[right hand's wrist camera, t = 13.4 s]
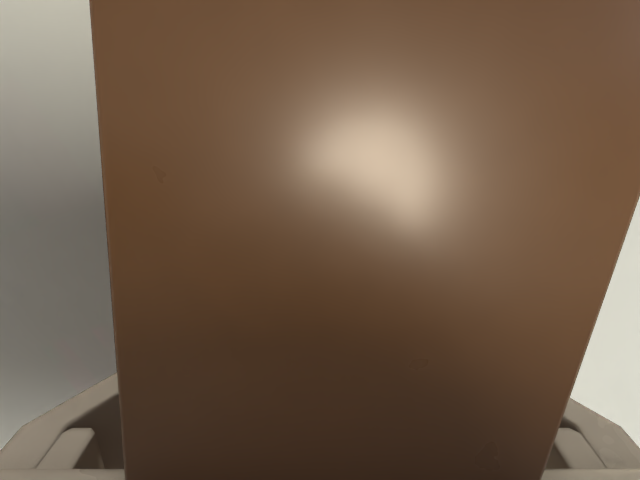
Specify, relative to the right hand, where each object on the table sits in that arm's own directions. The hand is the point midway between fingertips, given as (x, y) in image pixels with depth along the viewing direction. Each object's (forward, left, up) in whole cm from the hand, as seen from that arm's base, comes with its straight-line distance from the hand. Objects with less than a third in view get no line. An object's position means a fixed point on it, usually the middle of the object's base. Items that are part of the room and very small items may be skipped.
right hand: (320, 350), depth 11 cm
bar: (+3, +8, -4) cm, 10 cm away
